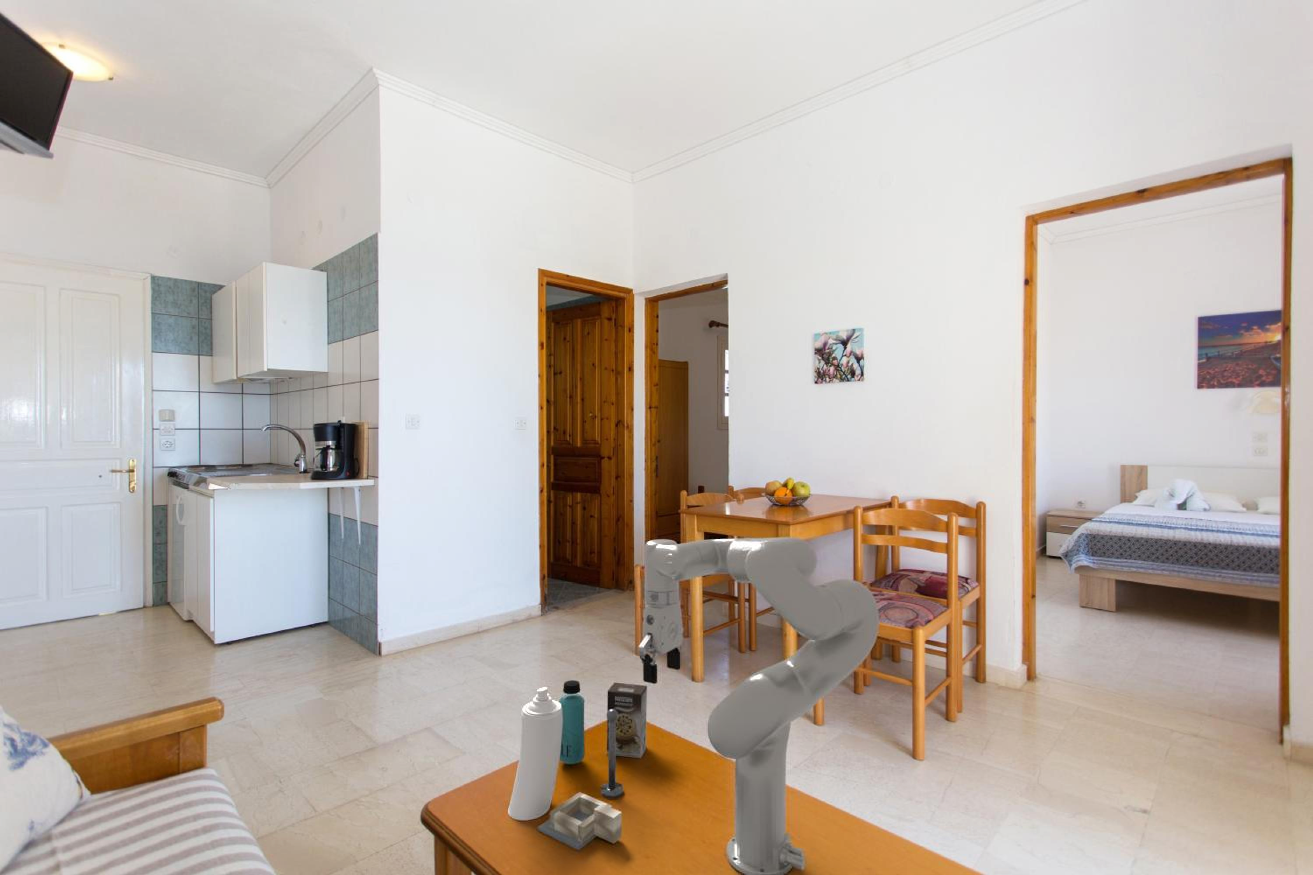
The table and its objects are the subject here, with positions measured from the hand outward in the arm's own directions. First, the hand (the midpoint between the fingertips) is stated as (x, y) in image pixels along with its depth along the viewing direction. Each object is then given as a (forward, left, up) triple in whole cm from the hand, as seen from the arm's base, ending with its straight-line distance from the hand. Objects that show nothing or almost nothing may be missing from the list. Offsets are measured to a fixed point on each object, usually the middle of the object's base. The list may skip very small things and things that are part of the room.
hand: (662, 675), depth 139 cm
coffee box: (+20, -14, -28) cm, 37 cm away
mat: (+9, +17, -28) cm, 34 cm away
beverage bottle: (+27, -1, -28) cm, 39 cm away
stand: (+11, +3, -28) cm, 30 cm away
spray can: (+22, +17, -28) cm, 39 cm away
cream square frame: (+6, +17, -27) cm, 32 cm away
